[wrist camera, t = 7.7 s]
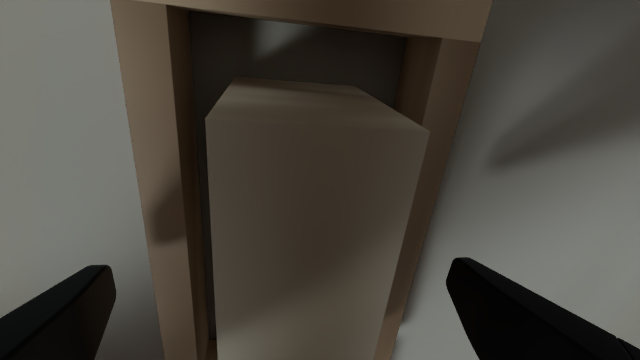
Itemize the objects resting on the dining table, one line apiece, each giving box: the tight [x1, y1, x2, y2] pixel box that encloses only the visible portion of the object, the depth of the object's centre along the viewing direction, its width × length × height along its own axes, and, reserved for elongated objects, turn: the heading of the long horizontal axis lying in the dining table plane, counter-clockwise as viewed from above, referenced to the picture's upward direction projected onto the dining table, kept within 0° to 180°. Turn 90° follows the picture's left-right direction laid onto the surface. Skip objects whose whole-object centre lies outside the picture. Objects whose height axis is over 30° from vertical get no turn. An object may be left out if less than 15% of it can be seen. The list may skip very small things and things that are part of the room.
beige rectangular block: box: [205, 77, 430, 360], centre depth 9 cm, size 4×9×5 cm, turn 174°
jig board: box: [110, 0, 493, 360], centre depth 12 cm, size 8×23×2 cm, turn 174°
